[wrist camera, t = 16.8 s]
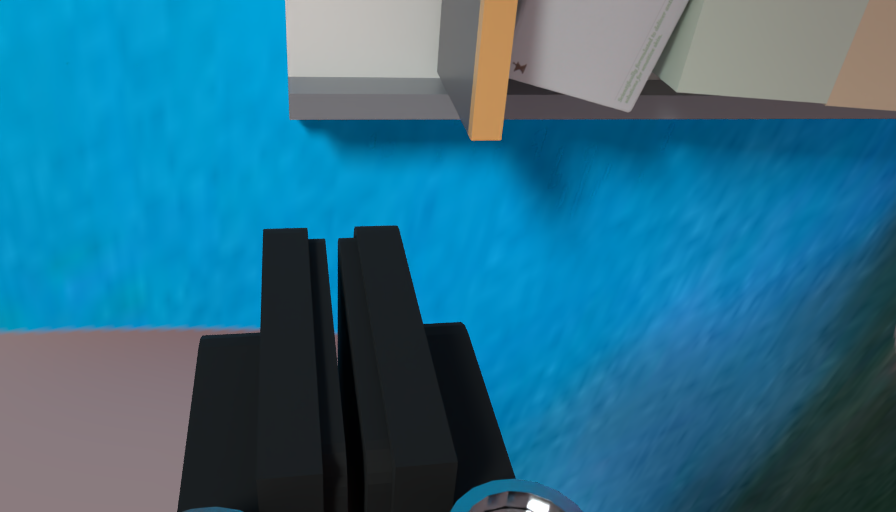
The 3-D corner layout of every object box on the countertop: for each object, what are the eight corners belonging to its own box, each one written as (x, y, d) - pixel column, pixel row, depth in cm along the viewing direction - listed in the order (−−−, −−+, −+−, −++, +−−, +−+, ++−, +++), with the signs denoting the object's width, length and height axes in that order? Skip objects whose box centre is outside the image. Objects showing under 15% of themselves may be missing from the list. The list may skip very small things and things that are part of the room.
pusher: (436, 72, 30) (471, 140, 25) (450, -120, 27) (493, -89, 21) (461, 72, 30) (501, 140, 25) (478, -119, 27) (528, -87, 21)
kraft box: (749, 57, 33) (825, 105, 28) (802, -97, 30) (898, -70, 25) (869, 67, 34) (961, 115, 29) (933, -78, 31) (1046, -50, 26)
